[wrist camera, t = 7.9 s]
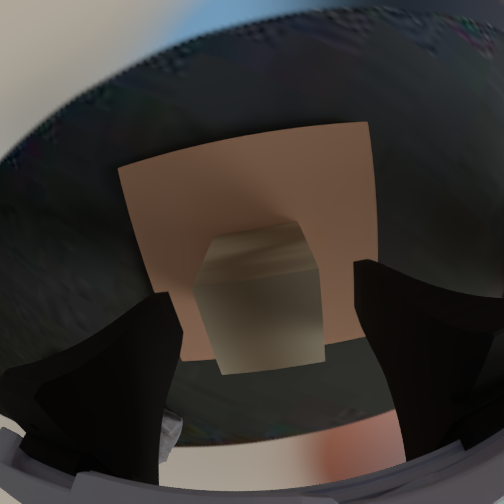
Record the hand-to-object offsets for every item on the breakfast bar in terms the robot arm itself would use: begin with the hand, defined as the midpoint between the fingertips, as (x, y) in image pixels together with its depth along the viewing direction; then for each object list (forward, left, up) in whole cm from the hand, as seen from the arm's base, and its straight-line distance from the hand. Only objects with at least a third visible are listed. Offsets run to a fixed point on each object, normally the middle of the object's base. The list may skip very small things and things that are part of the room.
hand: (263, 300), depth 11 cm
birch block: (0, 0, -4) cm, 4 cm away
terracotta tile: (0, 0, -6) cm, 6 cm away
